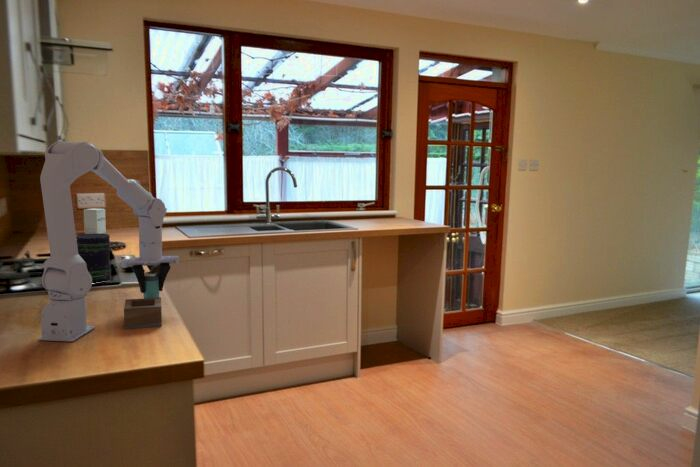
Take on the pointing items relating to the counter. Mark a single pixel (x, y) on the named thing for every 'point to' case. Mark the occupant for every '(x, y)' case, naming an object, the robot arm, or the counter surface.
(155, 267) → the dark dumbbell
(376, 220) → the counter surface
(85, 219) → the supplement box
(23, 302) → the counter surface
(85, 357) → the counter surface
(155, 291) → the peg
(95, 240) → the storage jar
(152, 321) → the socket
